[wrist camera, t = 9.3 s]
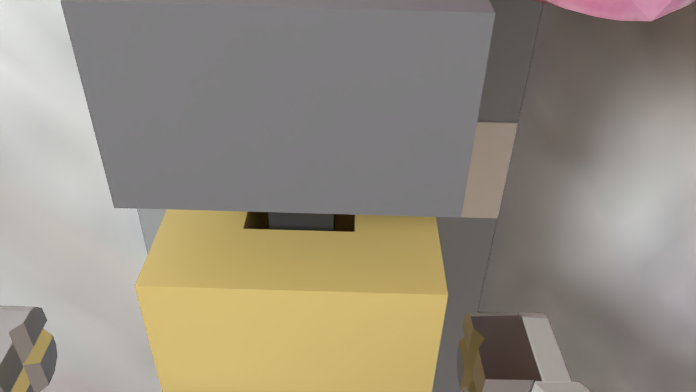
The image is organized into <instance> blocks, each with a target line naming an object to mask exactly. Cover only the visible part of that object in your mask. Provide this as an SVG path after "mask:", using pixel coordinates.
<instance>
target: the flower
mask: <svg viewBox="0 0 696 392" xmlns="http://www.w3.org/2000/svg"><path fill="white" fill-rule="evenodd" d="M535 1H538V2H542V3H546V4H549V5H553V6H557V7H561V8H564V9H568V10H572V11H576V12H579V13H583V14H587V15H591V16H594V17H600V18H606V19H612V20H618V21H654V20H656V19H659V18H661V17H663V16H666V15H668V14H670V13H672V12H674V11H677V10H679V9H681V8H683V7H685V6H688V5H690V4H691V3H693V2H694V1H695V0H535Z"/></svg>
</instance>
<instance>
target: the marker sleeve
mask: <svg viewBox="0 0 696 392" xmlns="http://www.w3.org/2000/svg"><path fill="white" fill-rule="evenodd" d="M135 289H136V293H137V297H138V301H139V304H140V308H141V312H142V316H143V320H144V324H145V328H146V331H147V335H148V339H149V343H150V347H151V351H152V354H153V358H154V362H155V366H156V370H157V374H158V377H159V381H160V385H161V389H162V392H432V388H433V382H434V376H435V370H436V364H437V358H438V352H439V346H440V340H441V334H442V328H443V322H444V316H445V311H446V305H447V299H448V291H447V285H446V278H445V272H444V265H443V259H442V253H441V246H440V240H439V233H438V227H437V221H436V217H423V216H387V215H352V214H335V231H306V230H270V229H269V217H268V212H245V211H210V210H174V209H167V210H166V213H165V215H164V217H163V220H162V222H161V225H160V227H159V229H158V232H157V234H156V236H155V239H154V241H153V244H152V246H151V248H150V251H149V253H148V256H147V258H146V260H145V263H144V265H143V267H142V270H141V272H140V275H139V277H138V279H137V282H136V284H135Z"/></svg>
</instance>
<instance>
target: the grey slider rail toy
mask: <svg viewBox="0 0 696 392" xmlns="http://www.w3.org/2000/svg"><path fill="white" fill-rule="evenodd" d="M61 5H62V9H63V13H64V16H65V20H66V24H67V28H68V32H69V36H70V39H71V43H72V47H73V51H74V55H75V59H76V63H77V66H78V70H79V74H80V78H81V82H82V86H83V89H84V93H85V97H86V101H87V105H88V109H89V112H90V116H91V120H92V124H93V128H94V132H95V135H96V139H97V143H98V147H99V151H100V155H101V159H102V162H103V166H104V170H105V174H106V178H107V182H108V185H109V189H110V193H111V197H112V201H113V205H114V208H137V211H138V215H139V219H140V224H141V228H142V232H143V236H144V241H145V245H146V249H147V254H148V253H149V251H150V248H151V246H152V244H153V241H154V239H155V236H156V234H157V232H158V229H159V227H160V225H161V222H162V220H163V217H164V215H165V213H166V210H167V209H174V210H210V211H245V212H268V217H269V229H270V230H306V231H335V214H352V215H387V216H423V217H436V221H437V227H438V233H439V240H440V246H441V253H442V259H443V265H444V272H445V278H446V285H447V291H448V299H447V305H446V311H445V316H444V322H443V328H442V334H441V340H440V346H439V352H438V358H437V364H436V370H435V376H434V382H433V388H432V392H460V391H461V390H460V388H459V382H458V376H457V350H458V345H459V341H460V340H461V339H462V338H464V337H465V336H464V331H463V326H462V325H463V321H464V317H465V315H466V313H467V312H477V311H478V307H479V302H480V297H481V293H482V288H483V283H484V279H485V274H486V269H487V264H488V260H489V255H490V250H491V246H492V241H493V236H494V232H495V227H496V222H497V218H498V215H499V210H500V206H501V201H502V196H503V192H504V187H505V182H506V178H507V173H508V168H509V164H510V159H511V154H512V150H513V145H514V140H515V135H516V131H517V126H518V119H519V114H520V110H521V105H522V100H523V96H524V91H525V86H526V82H527V77H528V72H529V67H530V63H531V58H532V53H533V49H534V44H535V39H536V35H537V30H538V25H539V21H540V16H541V11H542V7H543V3H542V2H538V1H535V0H61Z"/></svg>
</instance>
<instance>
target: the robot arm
mask: <svg viewBox="0 0 696 392" xmlns="http://www.w3.org/2000/svg"><path fill="white" fill-rule="evenodd" d="M46 321H47V319H46V317H45V314H44V312H43V310H42V308H38V307H25V306H0V392H40V391H41V390H42V389H44V388H45V387H46V386H48V385H49V383H50V381H51V378H52V376H53V374H54V371H55V365H56V359H57V350H56V343H55V340H54V338H53V336H52V335H51V334H49V333H48V332H47V331H45V330H44V329H43V327H44V325H45V323H46ZM462 326H463V331H464V336H465V337H464V338H462V339H461V340H460V341H459V345H458V350H457V376H458V382H459V388H460V390H461V391H462V392H591V391H589V390H588V389H587V388H586V387H585V386H584V385H582V384H581V383H580V382H572V381H571V378H570V375H569V373H568V370H567V367H566V365H565V362H564V359H563V357H562V354H561V352H560V349H559V346H558V344H557V341H556V338H555V336H554V333H553V330H552V328H551V325H550V322H549V320H548V317H547V316H546V315H545V314H544V313H506V312H467V313H466V315H465V317H464V321H463V325H462Z"/></svg>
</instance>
